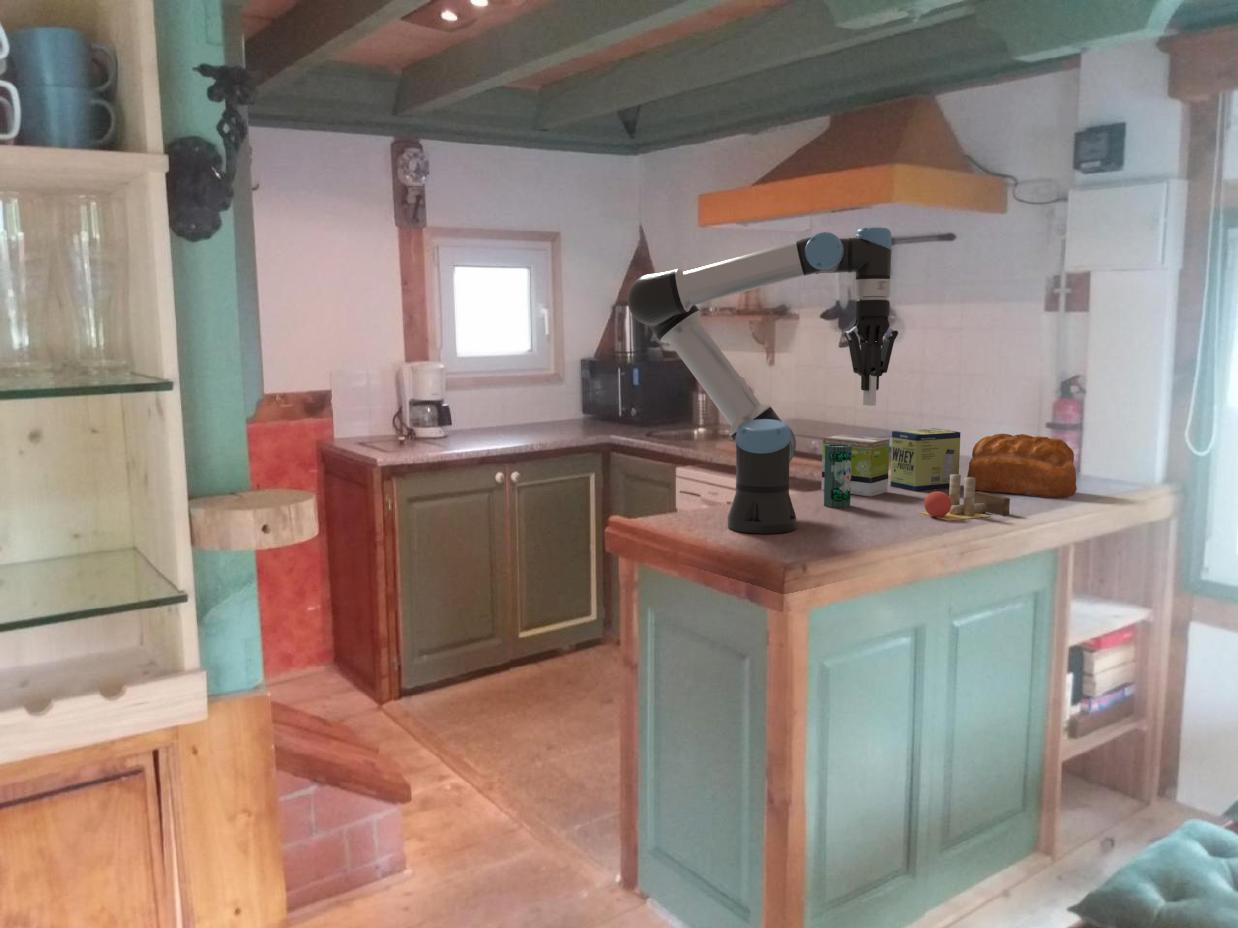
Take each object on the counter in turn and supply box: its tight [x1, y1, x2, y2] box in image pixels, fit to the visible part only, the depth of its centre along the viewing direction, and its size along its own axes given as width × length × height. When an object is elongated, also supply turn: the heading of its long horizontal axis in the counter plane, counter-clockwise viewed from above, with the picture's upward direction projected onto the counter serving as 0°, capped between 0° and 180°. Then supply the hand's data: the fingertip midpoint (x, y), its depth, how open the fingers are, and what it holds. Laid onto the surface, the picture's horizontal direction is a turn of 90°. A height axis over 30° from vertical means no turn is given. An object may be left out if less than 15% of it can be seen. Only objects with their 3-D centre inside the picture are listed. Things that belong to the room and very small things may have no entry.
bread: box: [966, 433, 1078, 499], centre depth 259 cm, size 14×26×16 cm, turn 51°
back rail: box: [974, 491, 1011, 516], centre depth 231 cm, size 2×10×4 cm, turn 21°
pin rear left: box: [948, 474, 962, 506], centre depth 230 cm, size 2×2×9 cm
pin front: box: [949, 503, 987, 515], centre depth 229 cm, size 2×2×9 cm
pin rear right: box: [962, 476, 976, 516], centre depth 226 cm, size 2×2×9 cm
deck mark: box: [919, 511, 991, 522], centre depth 228 cm, size 12×10×1 cm
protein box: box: [890, 428, 961, 493], centre depth 267 cm, size 10×16×16 cm
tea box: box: [821, 434, 891, 497], centre depth 260 cm, size 15×10×15 cm
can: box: [823, 444, 852, 509], centre depth 240 cm, size 6×6×15 cm
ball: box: [923, 490, 951, 518], centre depth 225 cm, size 6×6×6 cm
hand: (869, 405), depth 219 cm, fingers closed
